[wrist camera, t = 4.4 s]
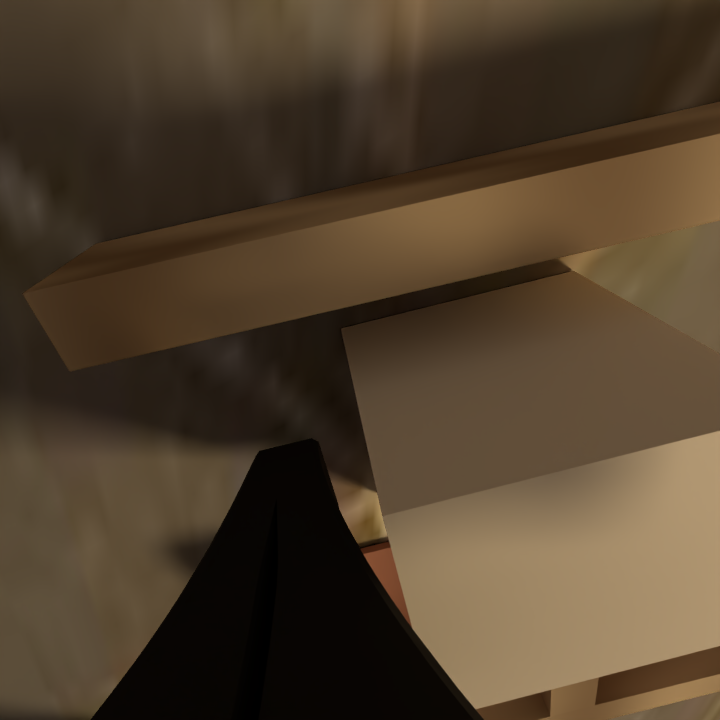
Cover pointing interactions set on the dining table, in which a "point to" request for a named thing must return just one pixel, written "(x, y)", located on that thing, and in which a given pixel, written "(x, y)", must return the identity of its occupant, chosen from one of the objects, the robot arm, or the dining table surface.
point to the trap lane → (405, 286)
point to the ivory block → (545, 482)
